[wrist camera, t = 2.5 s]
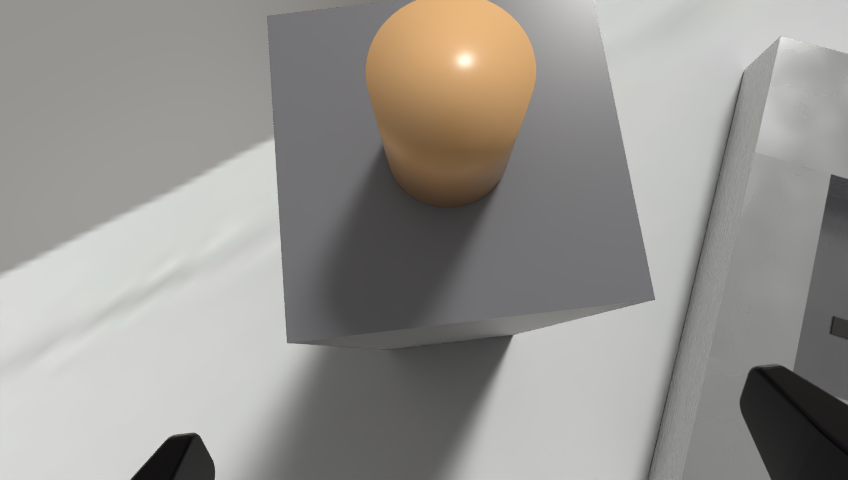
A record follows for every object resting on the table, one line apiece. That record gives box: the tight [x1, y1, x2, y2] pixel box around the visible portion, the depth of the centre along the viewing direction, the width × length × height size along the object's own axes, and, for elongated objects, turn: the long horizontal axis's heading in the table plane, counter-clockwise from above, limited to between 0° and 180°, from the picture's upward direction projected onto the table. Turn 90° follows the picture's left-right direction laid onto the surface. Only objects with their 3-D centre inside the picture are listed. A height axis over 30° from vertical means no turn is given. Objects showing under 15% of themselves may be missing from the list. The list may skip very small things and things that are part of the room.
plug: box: [267, 0, 655, 350], centre depth 12 cm, size 4×4×15 cm
